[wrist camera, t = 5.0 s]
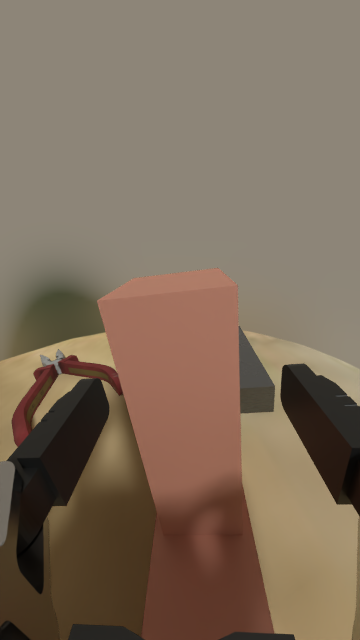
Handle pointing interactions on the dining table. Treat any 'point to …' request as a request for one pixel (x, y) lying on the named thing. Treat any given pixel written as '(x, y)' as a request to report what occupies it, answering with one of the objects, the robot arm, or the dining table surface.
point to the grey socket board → (253, 380)
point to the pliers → (45, 381)
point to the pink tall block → (189, 451)
